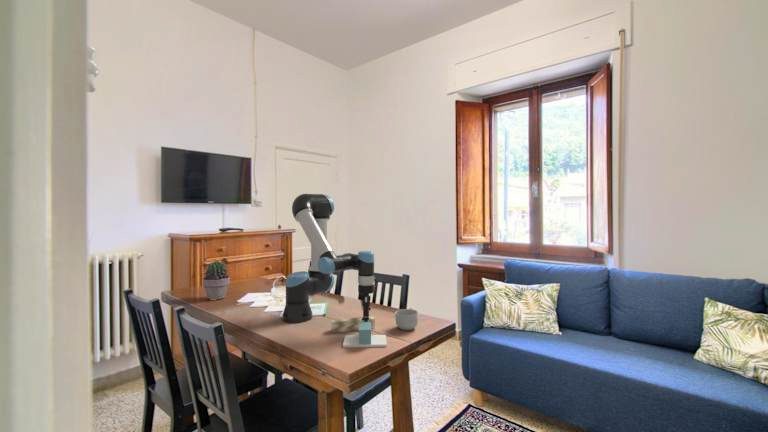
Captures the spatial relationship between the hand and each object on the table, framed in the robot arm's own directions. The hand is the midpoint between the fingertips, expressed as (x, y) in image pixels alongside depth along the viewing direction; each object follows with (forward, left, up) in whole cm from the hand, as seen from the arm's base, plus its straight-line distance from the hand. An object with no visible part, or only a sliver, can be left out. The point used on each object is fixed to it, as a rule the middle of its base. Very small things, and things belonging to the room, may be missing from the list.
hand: (366, 328), depth 164 cm
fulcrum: (0, -16, 0) cm, 16 cm away
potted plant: (-96, +57, 0) cm, 112 cm away
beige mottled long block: (-6, 0, 0) cm, 6 cm away
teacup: (+20, +2, 0) cm, 20 cm away
